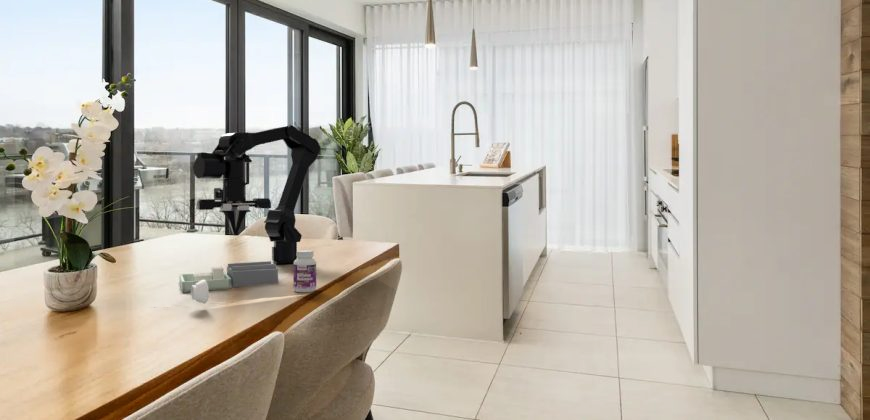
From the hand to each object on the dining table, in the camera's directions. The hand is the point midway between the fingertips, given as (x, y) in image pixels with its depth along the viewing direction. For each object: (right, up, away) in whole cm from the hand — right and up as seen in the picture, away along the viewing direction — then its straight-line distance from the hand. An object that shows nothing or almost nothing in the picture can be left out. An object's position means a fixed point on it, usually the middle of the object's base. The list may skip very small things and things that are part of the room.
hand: (235, 235), depth 155 cm
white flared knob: (+5, -13, -35) cm, 38 cm away
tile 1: (-3, -9, -14) cm, 17 cm away
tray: (-3, -12, -13) cm, 18 cm away
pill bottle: (+24, -13, -20) cm, 34 cm away
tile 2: (+1, -10, -12) cm, 15 cm away
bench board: (+7, -12, -8) cm, 16 cm away
